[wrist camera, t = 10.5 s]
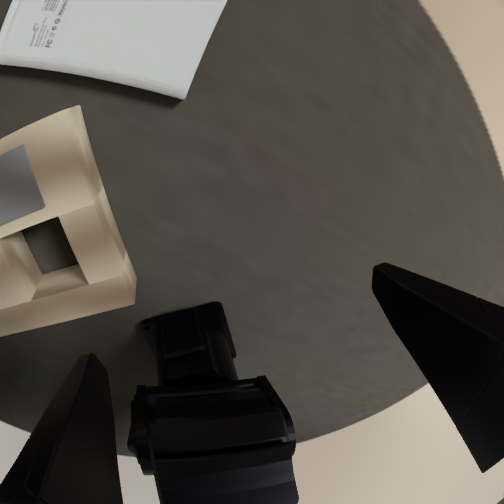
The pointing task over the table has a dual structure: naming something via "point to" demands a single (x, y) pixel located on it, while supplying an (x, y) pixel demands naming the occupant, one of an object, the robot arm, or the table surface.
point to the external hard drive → (112, 39)
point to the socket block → (73, 222)
